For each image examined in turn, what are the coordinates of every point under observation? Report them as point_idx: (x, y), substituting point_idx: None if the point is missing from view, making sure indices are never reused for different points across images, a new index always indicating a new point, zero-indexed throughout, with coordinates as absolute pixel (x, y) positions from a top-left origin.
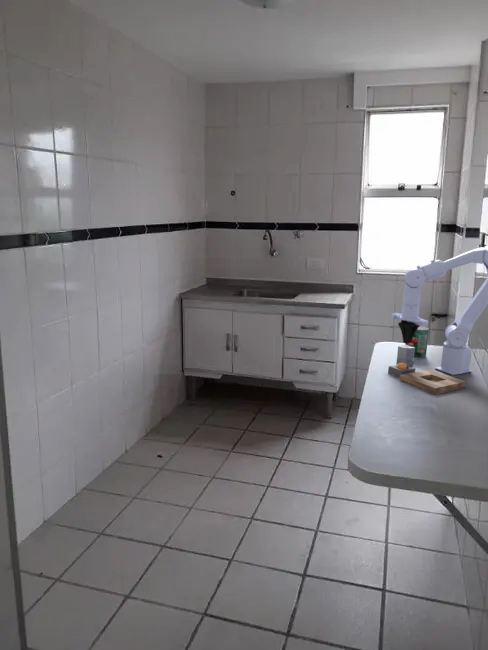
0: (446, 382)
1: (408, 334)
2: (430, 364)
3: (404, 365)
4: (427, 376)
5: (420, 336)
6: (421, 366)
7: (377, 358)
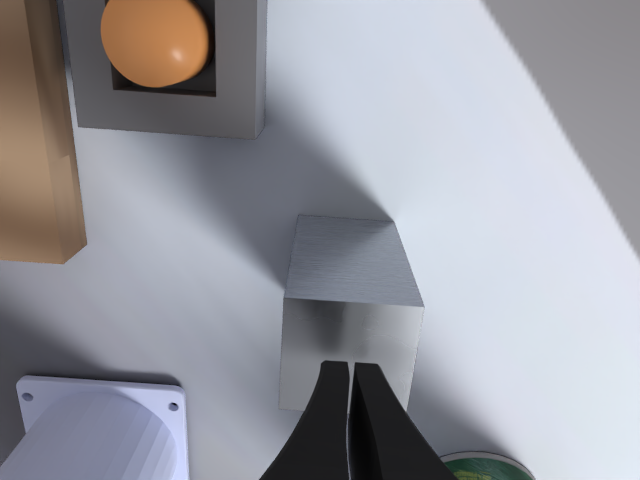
0: None
1: (284, 450)
2: (277, 441)
3: (103, 19)
4: None
5: None
6: (274, 360)
7: (615, 239)
